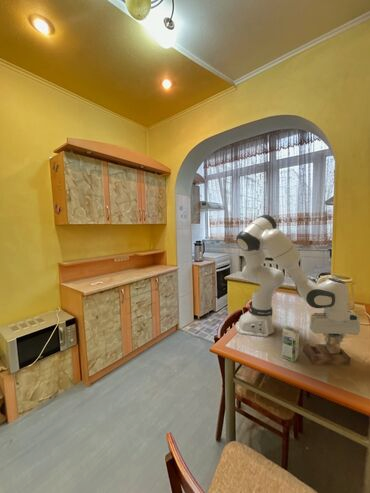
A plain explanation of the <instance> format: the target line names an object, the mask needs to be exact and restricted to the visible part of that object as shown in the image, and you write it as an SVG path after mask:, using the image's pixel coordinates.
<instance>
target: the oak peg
mask: <svg viewBox="0 0 370 493" xmlns="http://www.w3.org/2000/svg"><path fill="white" fill-rule="evenodd" d="M327 337H329V338H330V342H326V341H325V344H326V349H327V350H328V351H329V352H330V353H338V354H340V348H341V343H342V342H341V334H328V335H327Z"/></svg>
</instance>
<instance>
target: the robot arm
mask: <svg viewBox="0 0 370 493" xmlns="http://www.w3.org/2000/svg"><path fill="white" fill-rule="evenodd" d="M277 226H278V225H277V222H276V219H274V218H273V216H271V215H269V214H263V215H260V216H258V217H257V218H256V219H255V220H253V221H252V222H250V223H249V224H248V225H247V226H246V227H244V229H242V230H241V231H240V232H239V233H238V234H237V235H236V239H235V240H236V243H237V245H238V247H239V248H240V250H241V252H242V256H243V259H244V260H245V265H244V266H243V268H242V271H241V274H242V277H243V278H242V279H244V280H247V281H248V282H250V283H253V284H257V285H259V288H258V289H255V290H254V291H253V292H252V295H251V305H250V304H248V303H247V304H246V307H247V309H248V311H246V312H245V313H243V314H241V315H240V316H239V321H237V322H236V323H235V329H236V332H237V333H238V334H240V335H247V336H256V337H257V336H258V337H264V338H266V337H267V338H268V336H269V335H271V334H273V333H274V332H275V329H274V328H275V327H274V323H273V313H274V311H273V306H272V305H273V296H274V293H275V291H276V290H277V289H278V288H280V287H281V286H283V285H284V282H285V278H286V277H285V273H284V271H286V272H287V274H288V275H289V276H290V278H291V280H292V281H293V282H294V285H295V291H296V293H297V295H298V296H299V297H300V298H302V300H304V302H305V303H307V305H308V306H310V307H311V308H314V309H323V313H322V312H319V313H318V312H315V313H313V314H311V316H310V324H309V328H310V331H311V332H312V333H313V334H322V335H323V336H324V341H325V343H326V342H330V338H329V337H327V335H328V334H340V335H341V342H340V343H343V340H344V338H346V335H358V334H359V333H360V332H361V323H360V322H361V321H359V320H360V316H359V315H358V314H357V313H355V312H354V311H352V310H351V309H348V306H347V304H348V301H349V288H348V287H349V286H348V284H347V283H346V282H345V281H343V280H341V279H338V278H334V277H333V278H332V277H330V278H327V279H326V280H325V281H322V282H321V283H318V284H317V283H316V282H315V281H314V280H312V279H310V278H309V277H307V275H306V274H305V272H304V271H303V269H302V268H301V267H300V264H299V263H300V260H301V255H300V253H299V251H298V249H297V247H296V246H295V245H294V243H293V242H292V240H291V239H290V238H289V237H288V236H287V235H286V234H285V233H284V232H283V231H282V230H280V229H279V228H277ZM264 249H265V250H266V252H268V254H269V256H270V258H272V260H273V261H274V262H275V263H276V264H277V266H278V267H280V268H281V269H282V270H284V271H282V270H280V269H278V268H275V267H273V266H272V267H271V266H266V265H263V263H265V261H266V254H265V251H264Z"/></svg>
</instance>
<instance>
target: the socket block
mask: <svg viewBox="0 0 370 493" xmlns="http://www.w3.org/2000/svg"><path fill="white" fill-rule="evenodd" d="M302 352H303V354H305V356H306V357H307V359H308V361H309V362H310V363H311V365H320V366H323V365H324V366H351V356H350V355H348V353H347V352H345V351H344V349H342V348H341V347H340V354H338V353H330V352H329V351H328V350H327V349H326V343H325V344H324V343H303V344H302Z"/></svg>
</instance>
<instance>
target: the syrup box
mask: <svg viewBox="0 0 370 493" xmlns="http://www.w3.org/2000/svg"><path fill="white" fill-rule="evenodd" d="M299 340H300V328H296V327H294V326H293V327H292V326H289V325H286V326H285V327H283V329H282V348H281V349H282V351H281V358H283V359H287V360H289V361H291V362H292V363H295V362H296V360H297V359H298V357H299V346H300V345H299V342H300V341H299Z"/></svg>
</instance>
